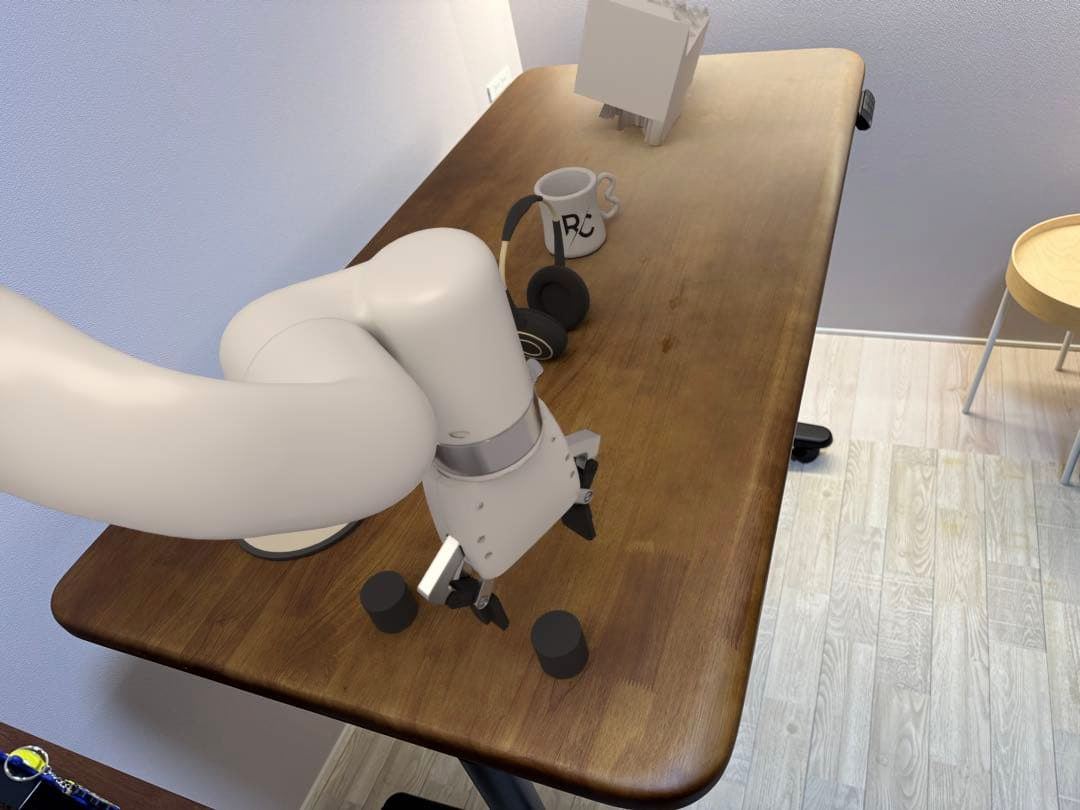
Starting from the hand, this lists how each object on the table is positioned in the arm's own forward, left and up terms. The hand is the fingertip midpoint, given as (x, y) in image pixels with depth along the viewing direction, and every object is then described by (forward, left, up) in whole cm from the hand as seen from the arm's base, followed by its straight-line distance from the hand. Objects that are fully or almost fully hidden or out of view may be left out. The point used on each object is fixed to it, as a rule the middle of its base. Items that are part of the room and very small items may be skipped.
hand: (538, 572), depth 60 cm
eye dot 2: (0, 0, -13) cm, 13 cm away
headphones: (+31, +31, -13) cm, 45 cm away
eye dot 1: (-7, +16, -13) cm, 22 cm away
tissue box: (+83, +56, -13) cm, 101 cm away
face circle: (-4, +37, -13) cm, 39 cm away
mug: (+51, +43, -13) cm, 68 cm away
